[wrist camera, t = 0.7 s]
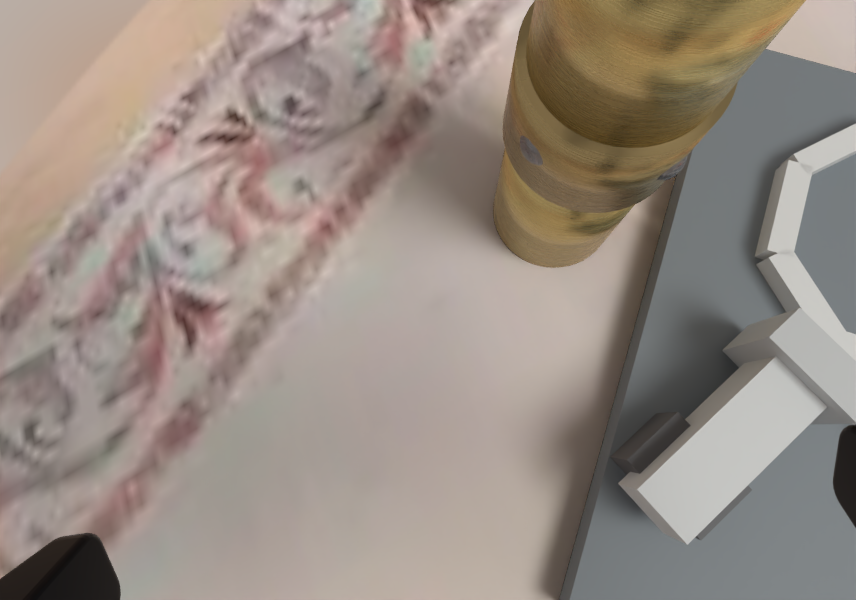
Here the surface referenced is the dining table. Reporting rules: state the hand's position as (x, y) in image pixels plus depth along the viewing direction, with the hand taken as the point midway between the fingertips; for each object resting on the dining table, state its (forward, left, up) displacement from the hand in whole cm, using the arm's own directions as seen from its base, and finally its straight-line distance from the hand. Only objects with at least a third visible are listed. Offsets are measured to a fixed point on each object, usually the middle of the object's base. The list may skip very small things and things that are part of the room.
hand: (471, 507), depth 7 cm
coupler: (+5, -8, -13) cm, 16 cm away
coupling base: (-5, -12, -13) cm, 18 cm away
